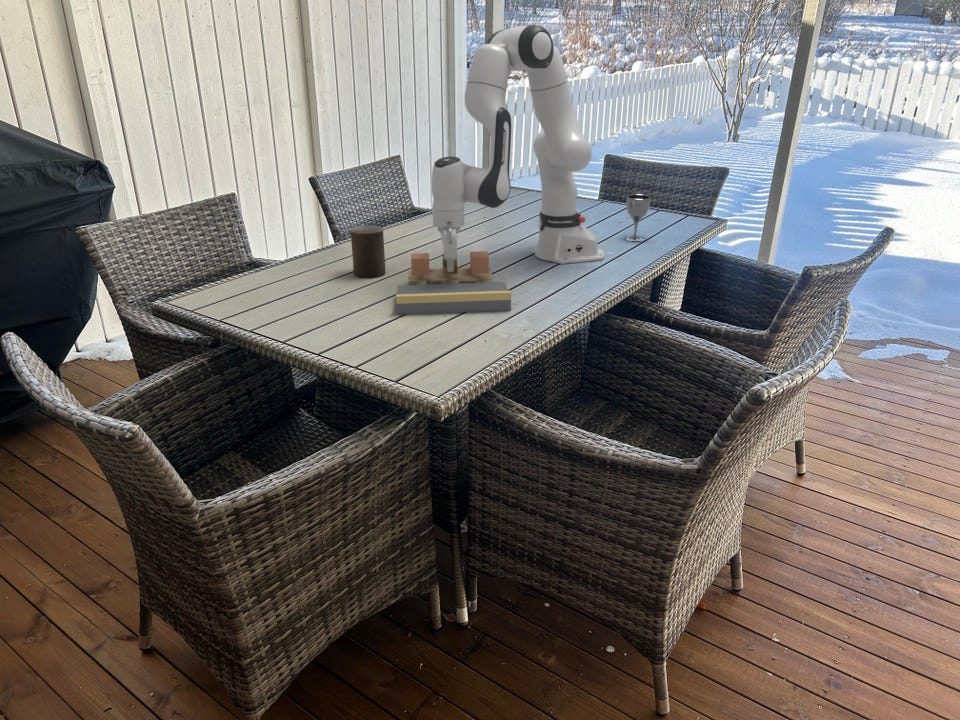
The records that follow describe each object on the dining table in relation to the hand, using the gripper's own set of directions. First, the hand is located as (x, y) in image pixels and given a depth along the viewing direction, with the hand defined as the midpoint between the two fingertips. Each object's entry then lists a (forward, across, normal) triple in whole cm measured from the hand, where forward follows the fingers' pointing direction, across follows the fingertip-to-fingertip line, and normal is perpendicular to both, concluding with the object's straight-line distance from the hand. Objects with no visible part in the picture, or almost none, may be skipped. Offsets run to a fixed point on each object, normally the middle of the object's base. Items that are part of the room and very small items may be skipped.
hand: (449, 265), depth 194 cm
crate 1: (+2, 0, +8) cm, 9 cm away
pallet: (+6, 0, 0) cm, 6 cm away
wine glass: (+6, +41, -67) cm, 79 cm away
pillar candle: (+6, +13, +24) cm, 28 cm away
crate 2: (+2, 0, -9) cm, 9 cm away
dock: (+6, -15, 0) cm, 16 cm away
